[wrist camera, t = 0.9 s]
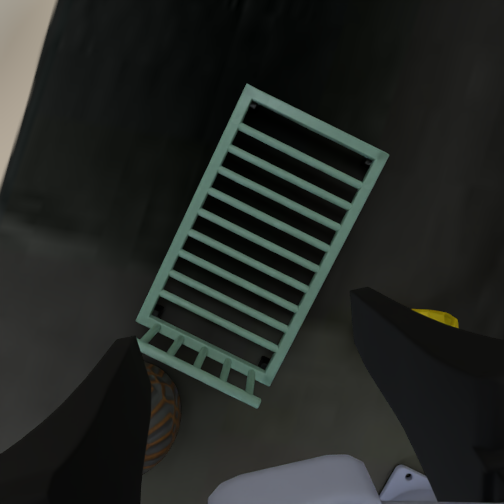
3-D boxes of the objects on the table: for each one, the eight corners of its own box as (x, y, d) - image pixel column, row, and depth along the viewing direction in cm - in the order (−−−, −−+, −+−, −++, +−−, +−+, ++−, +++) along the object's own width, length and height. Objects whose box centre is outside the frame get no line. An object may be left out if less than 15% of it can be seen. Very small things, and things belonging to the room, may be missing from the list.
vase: (111, 335, 33) (52, 383, 24) (202, 367, 33) (176, 427, 24) (83, 420, 33) (17, 497, 25) (172, 452, 33) (136, 540, 25)
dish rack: (382, 157, 30) (410, 145, 24) (269, 375, 32) (269, 417, 26) (248, 91, 30) (241, 62, 24) (143, 313, 32) (112, 341, 26)
